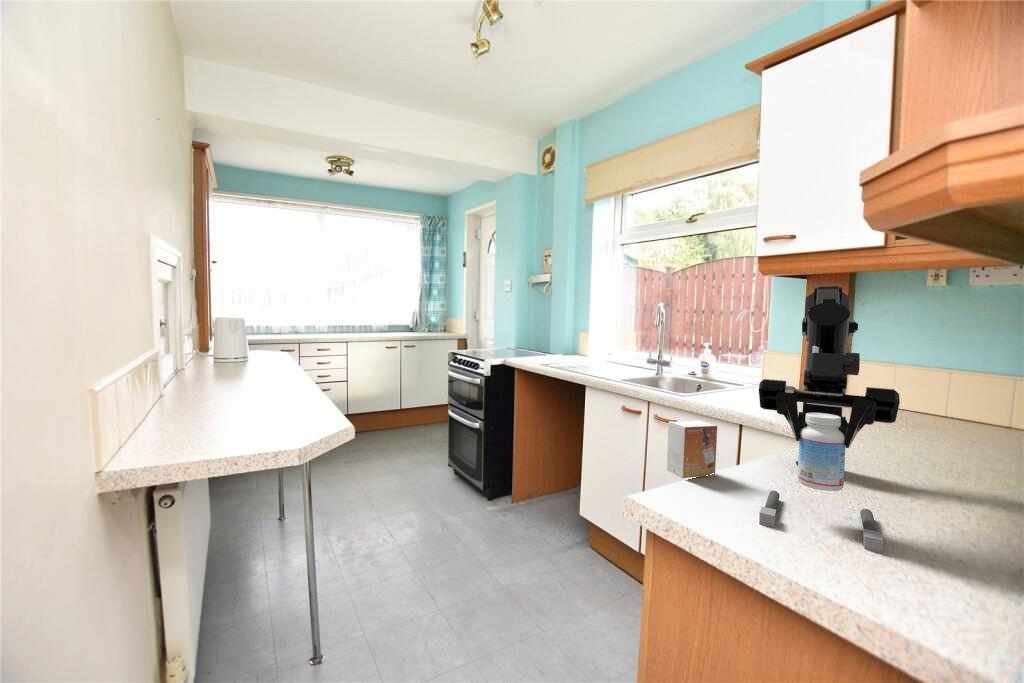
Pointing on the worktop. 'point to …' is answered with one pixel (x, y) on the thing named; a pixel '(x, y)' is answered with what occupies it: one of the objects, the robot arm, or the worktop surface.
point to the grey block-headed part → (871, 532)
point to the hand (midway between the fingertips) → (821, 442)
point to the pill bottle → (822, 452)
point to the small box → (691, 448)
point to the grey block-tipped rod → (769, 510)
